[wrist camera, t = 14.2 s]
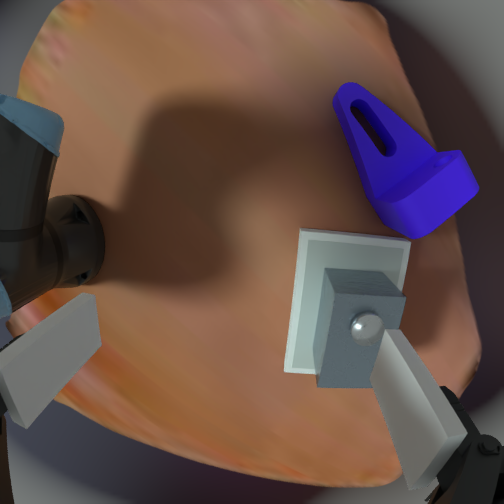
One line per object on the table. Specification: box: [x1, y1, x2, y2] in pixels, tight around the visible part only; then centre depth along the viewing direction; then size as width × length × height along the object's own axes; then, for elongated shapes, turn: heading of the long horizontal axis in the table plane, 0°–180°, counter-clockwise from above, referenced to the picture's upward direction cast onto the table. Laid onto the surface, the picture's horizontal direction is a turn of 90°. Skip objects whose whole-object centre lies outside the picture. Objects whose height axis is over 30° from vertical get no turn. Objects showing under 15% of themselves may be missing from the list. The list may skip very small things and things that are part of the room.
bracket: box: [333, 82, 479, 239], centre depth 31 cm, size 18×11×12 cm, turn 37°
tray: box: [284, 228, 411, 374], centre depth 41 cm, size 15×21×3 cm
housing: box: [312, 268, 406, 388], centre depth 35 cm, size 8×13×10 cm, turn 177°
